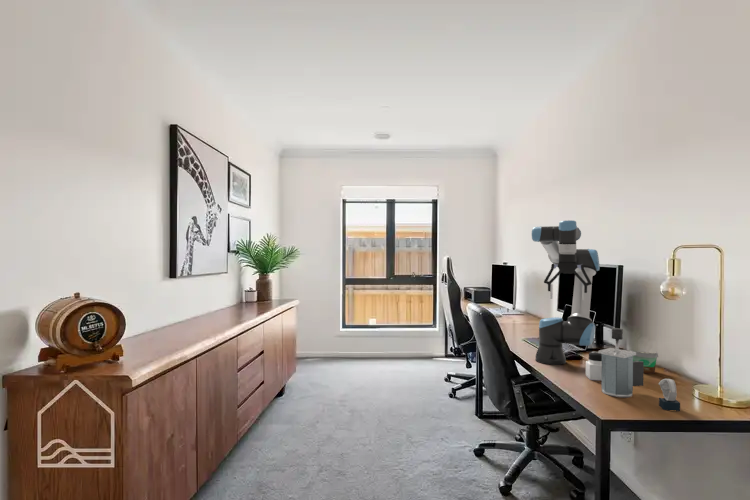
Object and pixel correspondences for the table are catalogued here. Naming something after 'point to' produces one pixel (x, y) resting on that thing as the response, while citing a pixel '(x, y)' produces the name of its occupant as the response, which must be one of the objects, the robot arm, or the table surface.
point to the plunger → (617, 337)
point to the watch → (669, 395)
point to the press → (620, 372)
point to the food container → (646, 361)
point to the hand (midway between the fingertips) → (567, 299)
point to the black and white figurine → (594, 366)
